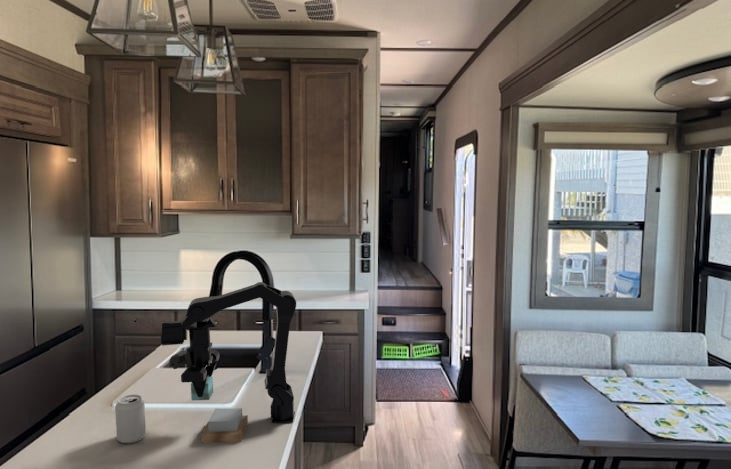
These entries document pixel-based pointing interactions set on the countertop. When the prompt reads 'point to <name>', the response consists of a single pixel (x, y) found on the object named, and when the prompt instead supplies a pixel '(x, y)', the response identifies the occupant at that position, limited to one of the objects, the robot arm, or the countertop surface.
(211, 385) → the teal block
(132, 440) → the can
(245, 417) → the walnut slab
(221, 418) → the grey block
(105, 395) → the countertop surface
